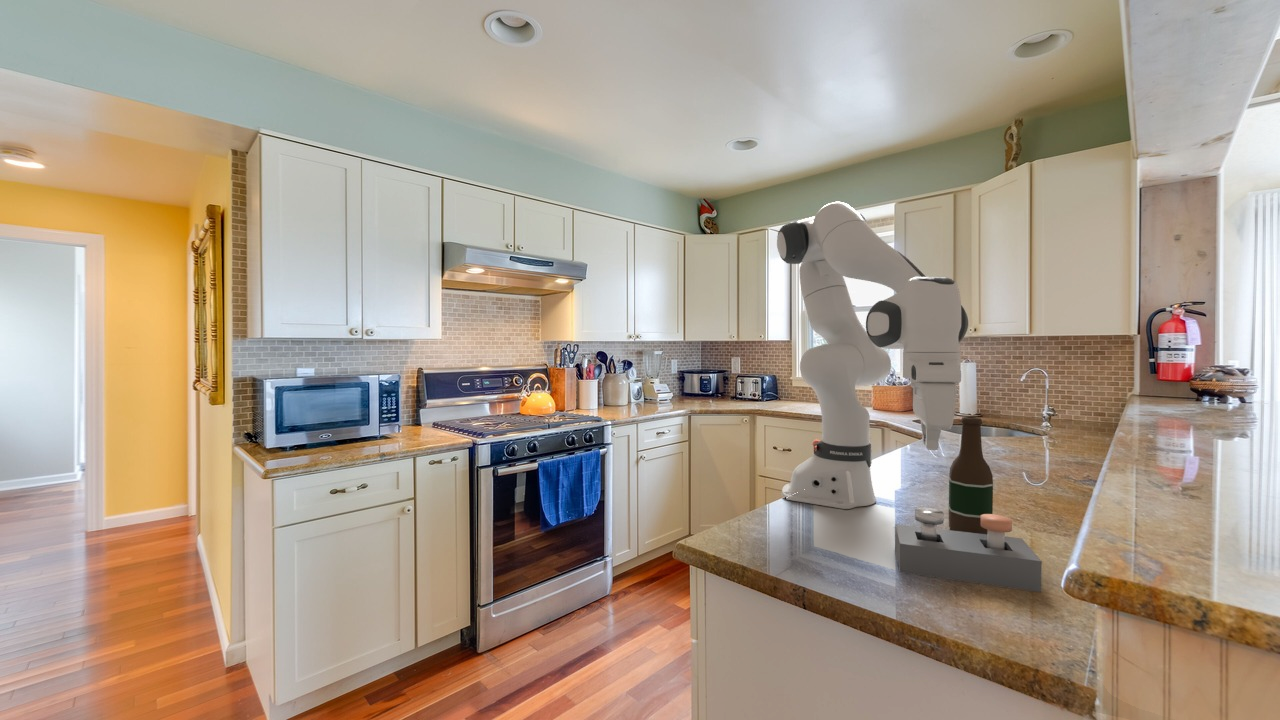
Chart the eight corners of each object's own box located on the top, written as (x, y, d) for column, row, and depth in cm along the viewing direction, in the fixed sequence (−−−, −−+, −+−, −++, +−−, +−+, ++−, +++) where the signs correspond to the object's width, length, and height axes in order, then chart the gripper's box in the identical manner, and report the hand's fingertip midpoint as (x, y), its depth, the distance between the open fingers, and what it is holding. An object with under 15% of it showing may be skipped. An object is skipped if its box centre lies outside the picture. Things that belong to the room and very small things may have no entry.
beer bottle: (996, 532, 107) (998, 417, 106) (987, 543, 101) (989, 421, 100) (953, 523, 112) (954, 413, 111) (943, 533, 106) (944, 417, 106)
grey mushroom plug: (916, 548, 90) (916, 513, 90) (913, 539, 94) (913, 506, 94) (945, 551, 89) (945, 516, 88) (940, 542, 93) (941, 509, 93)
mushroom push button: (983, 556, 87) (984, 520, 86) (977, 546, 91) (977, 512, 90) (1014, 560, 85) (1015, 524, 85) (1007, 550, 89) (1007, 515, 89)
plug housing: (899, 572, 89) (900, 543, 89) (894, 550, 98) (895, 524, 98) (1041, 592, 81) (1041, 561, 81) (1021, 566, 91) (1021, 538, 91)
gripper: (905, 365, 101) (904, 435, 102) (917, 371, 82) (916, 457, 83) (941, 365, 99) (940, 437, 99) (963, 372, 80) (962, 461, 80)
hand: (930, 447), depth 91 cm, fingers open, 3 cm apart
